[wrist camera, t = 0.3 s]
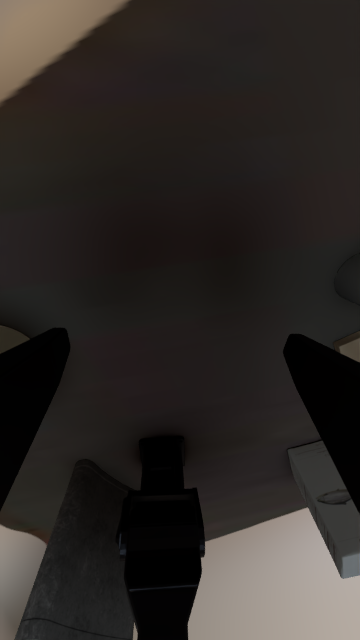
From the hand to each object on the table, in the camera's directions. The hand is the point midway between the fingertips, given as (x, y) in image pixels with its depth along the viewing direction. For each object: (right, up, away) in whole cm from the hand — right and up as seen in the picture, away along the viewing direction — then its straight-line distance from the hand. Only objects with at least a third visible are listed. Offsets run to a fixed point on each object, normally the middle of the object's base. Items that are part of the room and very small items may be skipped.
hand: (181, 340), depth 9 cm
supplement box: (+21, -21, +28) cm, 41 cm away
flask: (-12, -26, +28) cm, 39 cm away
